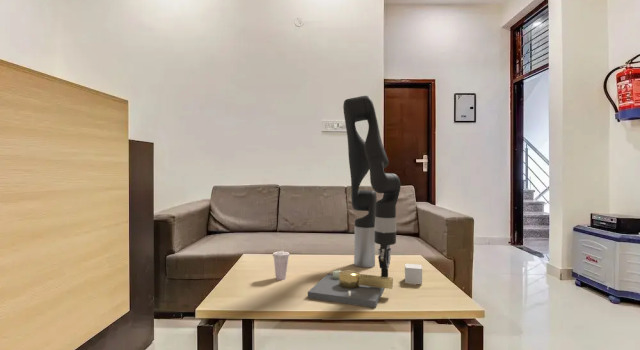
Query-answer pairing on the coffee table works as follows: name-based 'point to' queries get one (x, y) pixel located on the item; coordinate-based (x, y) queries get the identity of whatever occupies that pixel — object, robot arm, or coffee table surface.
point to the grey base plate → (345, 292)
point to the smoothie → (281, 263)
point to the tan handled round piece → (363, 280)
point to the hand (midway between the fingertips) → (384, 278)
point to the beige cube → (413, 274)
